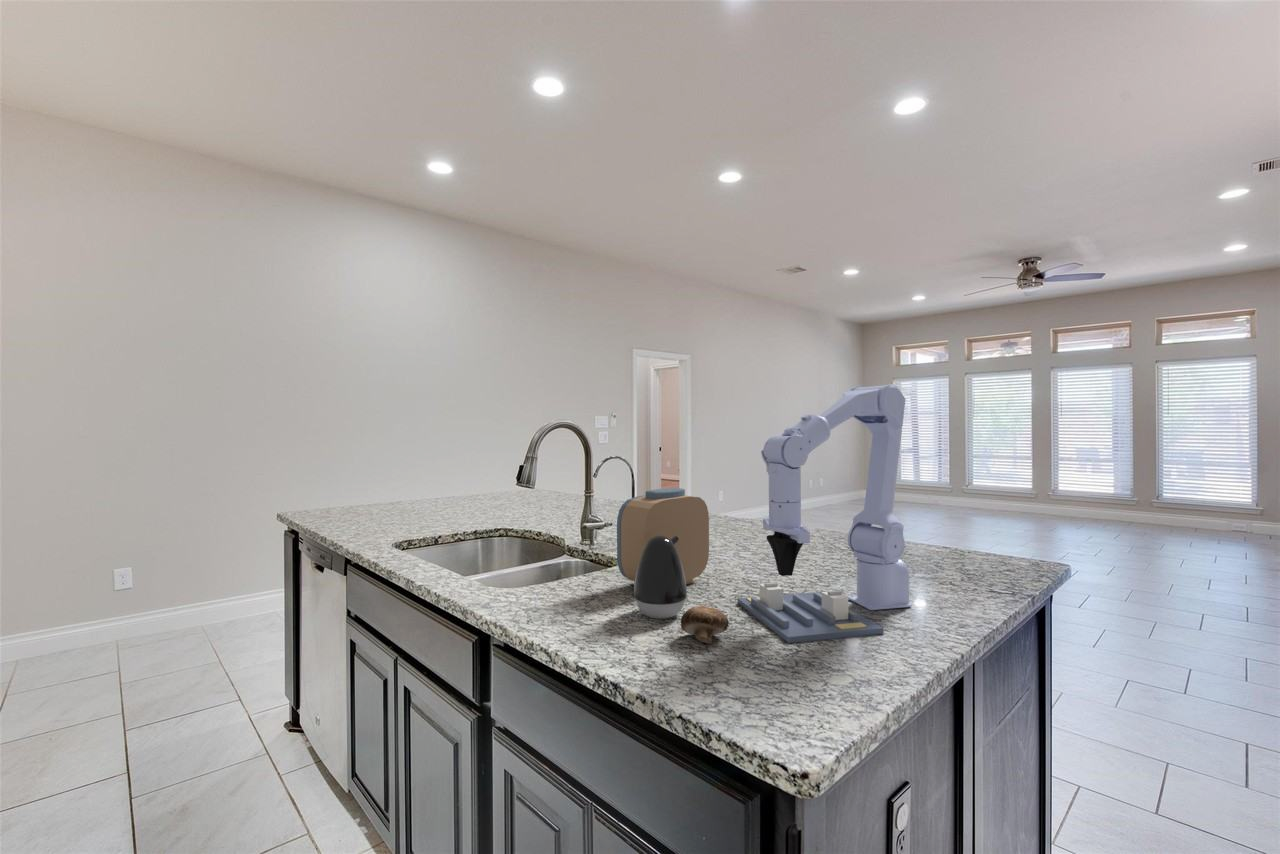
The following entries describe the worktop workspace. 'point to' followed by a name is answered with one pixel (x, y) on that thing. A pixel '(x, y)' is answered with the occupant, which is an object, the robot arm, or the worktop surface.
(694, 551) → the alarm clock
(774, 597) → the tab
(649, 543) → the pump dispenser
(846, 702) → the worktop surface
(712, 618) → the mushroom
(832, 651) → the worktop surface
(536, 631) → the worktop surface
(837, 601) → the tab
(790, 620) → the switch board
